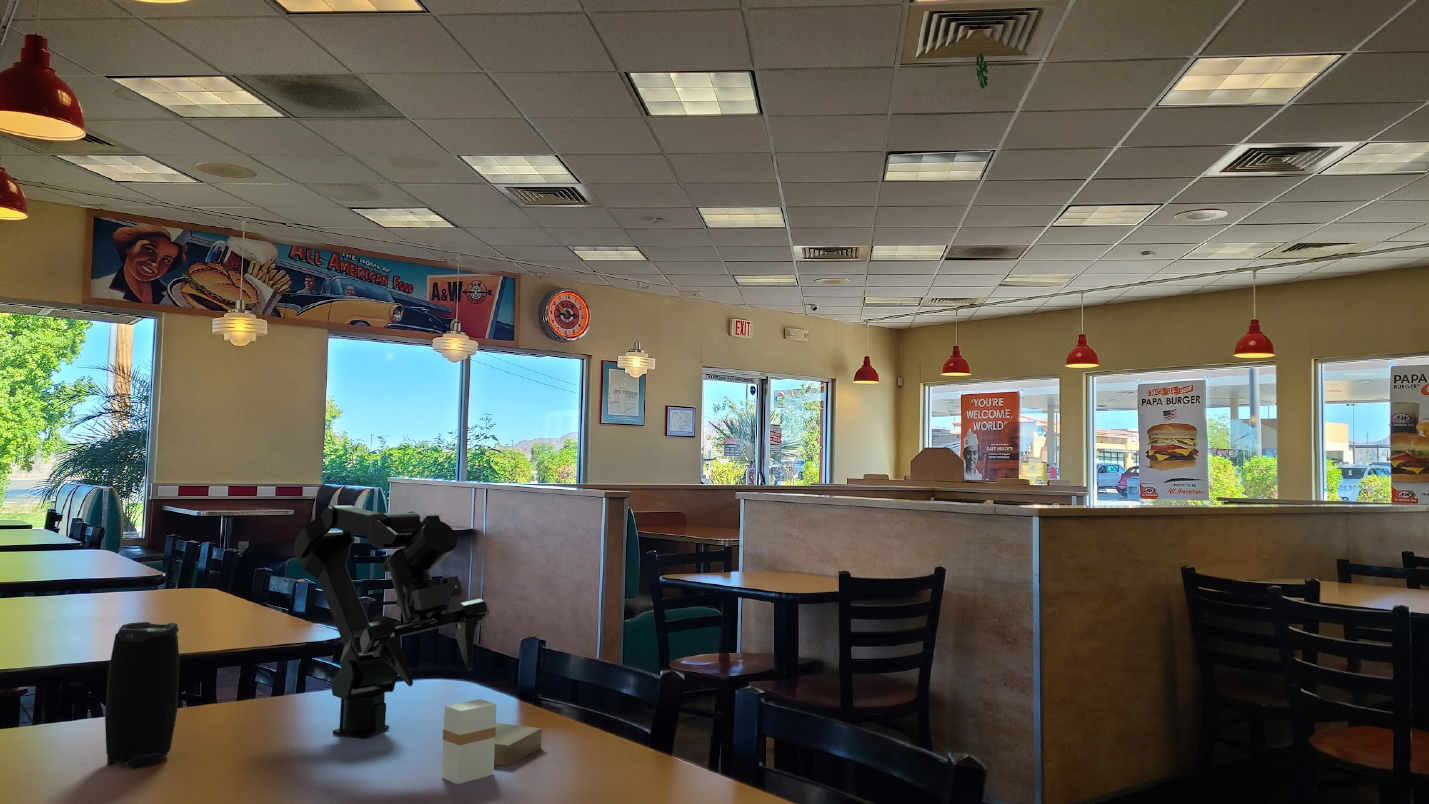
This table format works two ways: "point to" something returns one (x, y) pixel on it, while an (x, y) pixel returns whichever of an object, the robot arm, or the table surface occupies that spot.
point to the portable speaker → (142, 694)
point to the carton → (468, 741)
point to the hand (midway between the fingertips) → (441, 677)
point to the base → (515, 743)
